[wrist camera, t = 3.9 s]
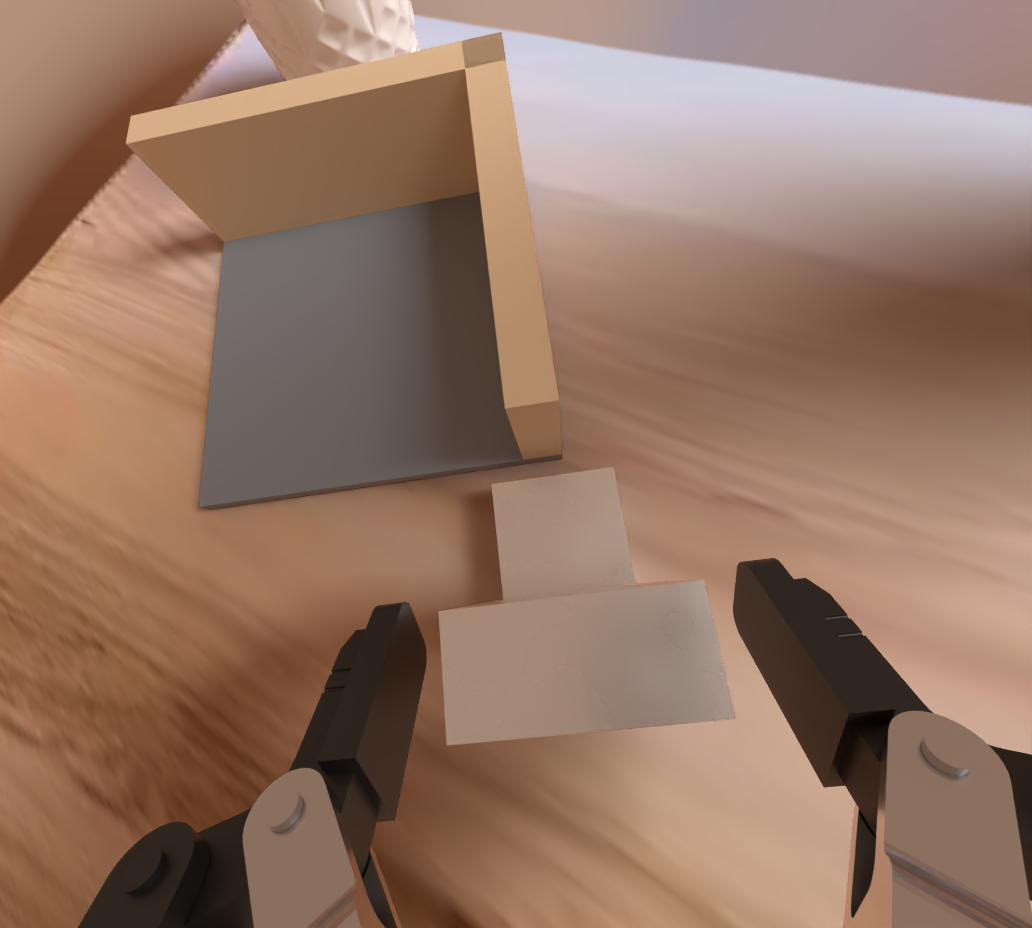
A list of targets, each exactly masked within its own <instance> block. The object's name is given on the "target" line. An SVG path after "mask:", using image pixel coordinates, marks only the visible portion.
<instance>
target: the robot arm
mask: <svg viewBox="0 0 1032 928" xmlns="http://www.w3.org/2000/svg"><path fill="white" fill-rule="evenodd" d="M733 614H734V619H735V623H736V626H737V629H738V632H739V634H740V636H741V638H742V640H743V641H744V643H745V645H746V647H747V649H748V650H749V652H750V654H751V656H752V658H753V659H754V661H755V663H756V665H757V667H758V669H759V670H760V672H761V674H762V676H763V678H764V679H765V681H766V683H767V685H768V687H769V689H770V690H771V692H772V694H773V696H774V698H775V699H776V701H777V703H778V705H779V707H780V709H781V710H782V712H783V714H784V716H785V718H786V719H787V721H788V723H789V725H790V727H791V729H792V730H793V732H794V734H795V736H796V738H797V739H798V741H799V743H800V745H801V747H802V749H803V750H804V752H805V754H806V756H807V758H808V759H809V761H810V763H811V765H812V767H813V768H814V770H815V772H816V774H817V776H818V778H819V779H820V781H821V783H822V785H823V787H834V786H846V787H847V789H848V791H849V793H850V794H851V796H852V798H853V799H854V801H855V803H856V805H855V808H854V815H853V826H852V838H851V849H850V861H849V872H848V883H847V895H846V906H845V916H844V924H843V928H1032V912H1031V906H1030V900H1031V901H1032V755H1031V754H1026V753H1021V752H1016V751H1011V750H1006V749H1002V748H998V747H994V746H991V745H988V744H986V743H985V742H984V741H983V740H982V739H981V738H980V737H978V736H977V735H976V734H974V733H973V732H971V731H970V730H968V729H967V728H965V727H964V726H962V725H960V724H958V723H956V722H955V721H952V720H950V719H948V718H946V717H943V716H940V715H937V714H934V713H933V712H932V711H930V710H929V709H928V708H927V706H926V705H925V704H924V703H923V702H922V701H921V700H920V699H919V698H918V696H917V695H916V694H915V693H914V692H913V691H912V689H911V688H910V687H909V686H908V685H907V684H906V682H905V681H904V680H903V679H902V678H901V677H900V675H899V674H898V673H897V672H896V671H895V670H894V668H893V667H892V666H891V665H890V664H889V663H888V661H887V660H886V659H885V658H884V657H883V656H882V654H881V653H880V652H879V651H878V650H877V649H876V647H875V646H874V645H873V644H872V643H871V642H870V640H869V639H868V638H867V637H866V636H863V635H862V631H861V630H860V629H859V628H858V626H857V625H856V624H855V623H854V622H853V621H852V619H851V618H850V619H849V618H848V617H847V614H846V612H845V611H844V610H843V609H842V608H841V607H840V605H839V604H838V603H837V602H836V601H835V600H834V598H833V597H832V596H831V595H830V594H829V593H827V592H826V591H824V590H823V589H821V588H820V587H818V586H817V585H815V584H814V583H812V582H811V581H809V580H808V579H806V578H802V579H793V578H792V576H791V575H790V574H789V573H788V571H787V570H786V569H785V568H784V566H783V565H782V564H781V563H780V562H779V561H778V560H777V559H775V558H769V559H761V560H753V561H745V562H740V563H739V564H738V566H737V574H736V583H735V593H734V603H733ZM425 669H426V647H425V642H424V640H423V637H422V634H421V632H420V629H419V627H418V624H417V622H416V619H415V617H414V614H413V612H412V609H411V607H410V605H409V604H408V603H407V602H403V603H395V604H387V605H379V606H376V607H375V608H374V610H373V612H372V615H371V617H370V620H369V623H368V625H367V628H366V629H363V630H356V631H355V632H354V634H353V635H352V636H351V637H350V638H349V640H348V641H347V642H346V643H345V645H344V646H343V647H342V648H341V649H340V652H339V654H338V657H337V659H336V661H335V664H334V666H333V669H332V675H330V676H329V678H328V681H327V683H326V686H325V692H324V693H322V695H321V698H320V700H319V702H318V705H317V707H316V710H315V712H314V714H313V717H312V719H311V722H310V724H309V726H308V729H307V731H306V734H305V736H304V739H303V741H302V743H301V746H300V748H299V751H298V753H297V755H296V758H295V760H294V762H293V764H292V766H291V768H290V770H289V772H288V773H286V774H284V775H282V776H281V777H279V778H278V779H277V780H275V781H274V782H273V783H272V784H271V785H269V786H268V787H267V788H266V789H265V791H264V792H263V793H262V794H261V795H260V796H259V798H258V799H257V801H256V802H255V804H254V805H253V807H252V808H251V809H249V810H247V811H245V812H243V813H241V814H239V815H237V816H234V817H232V818H230V819H228V820H226V821H223V822H221V823H219V824H217V825H214V826H212V827H210V828H208V829H206V830H203V831H201V832H199V833H197V832H196V831H195V830H194V829H192V828H191V827H190V826H189V825H187V824H186V823H182V822H173V823H169V824H166V825H163V826H161V827H159V828H157V829H155V830H153V831H152V832H150V833H149V834H147V835H146V836H144V837H143V838H142V839H141V840H140V841H138V842H137V843H136V844H135V845H134V846H133V847H132V848H131V849H130V850H129V851H128V852H127V853H126V854H125V855H124V856H123V857H122V858H121V859H120V861H119V862H118V863H117V865H116V866H115V867H114V869H113V870H112V871H111V873H110V875H109V876H108V878H107V879H106V881H105V883H104V884H103V886H102V888H101V889H100V891H99V893H98V895H97V896H96V898H95V900H94V901H93V903H92V905H91V906H90V908H89V910H88V912H87V913H86V915H85V917H84V918H83V920H82V922H81V923H80V925H79V927H78V928H402V927H401V924H400V921H399V918H398V916H397V913H396V910H395V907H394V905H393V902H392V899H391V896H390V894H389V891H388V888H387V886H386V883H385V880H384V877H383V875H382V872H381V869H380V866H379V864H378V861H377V858H376V855H375V853H374V850H373V848H372V845H371V843H372V839H373V834H374V830H375V826H376V822H380V821H392V820H395V816H396V811H397V806H398V801H399V796H400V792H401V787H402V782H403V777H404V772H405V767H406V762H407V757H408V752H409V747H410V743H411V738H412V733H413V728H414V723H415V718H416V713H417V708H418V703H419V699H420V694H421V689H422V684H423V679H424V674H425Z"/></svg>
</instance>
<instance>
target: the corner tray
mask: <svg viewBox="0 0 1032 928" xmlns="http://www.w3.org/2000/svg"><path fill="white" fill-rule="evenodd" d="M126 145H127V146H128V147H129V148H130V149H131V150H132V151H133V152H134V153H135V154H136V155H137V156H138V157H139V158H140V159H141V160H142V161H143V162H144V163H145V164H146V165H147V166H148V167H149V168H150V169H151V170H152V171H153V172H154V173H155V174H156V175H157V176H158V177H159V178H160V179H161V180H162V181H163V182H164V183H165V184H166V185H167V186H168V187H169V188H170V189H171V190H172V191H173V192H174V193H175V194H176V195H177V196H178V197H179V198H180V199H181V200H182V201H183V202H184V203H185V204H186V205H187V206H188V207H189V208H190V209H191V210H192V211H193V212H194V213H195V214H196V215H197V216H198V217H199V218H200V219H201V220H202V221H203V222H204V223H205V224H206V225H207V226H208V227H209V228H210V229H211V230H212V231H213V232H214V233H215V234H216V235H217V236H218V237H219V238H220V239H221V240H222V241H223V242H224V246H223V257H222V267H221V277H220V288H219V298H218V308H217V319H216V329H215V339H214V350H213V360H212V370H211V381H210V391H209V401H208V412H207V422H206V432H205V443H204V453H203V463H202V474H201V484H200V494H199V505H198V507H200V508H205V509H217V508H224V507H231V506H238V505H245V504H252V503H259V502H266V501H272V500H279V499H286V498H293V497H300V496H307V495H314V494H321V493H328V492H335V491H342V490H349V489H355V488H362V487H369V486H376V485H383V484H390V483H397V482H404V481H411V480H418V479H425V478H432V477H438V476H445V475H452V474H459V473H466V472H473V471H480V470H487V469H494V468H501V467H508V466H515V465H521V464H528V463H535V462H542V461H549V460H556V459H562V444H561V424H560V405H559V395H558V389H557V383H556V376H555V370H554V364H553V357H552V351H551V345H550V338H549V332H548V326H547V319H546V313H545V306H544V300H543V294H542V287H541V281H540V275H539V268H538V262H537V256H536V249H535V243H534V237H533V230H532V224H531V218H530V211H529V205H528V198H527V192H526V186H525V179H524V173H523V167H522V160H521V154H520V148H519V141H518V135H517V129H516V122H515V116H514V110H513V103H512V97H511V90H510V84H509V78H508V71H507V65H506V59H505V52H504V46H503V40H502V33H501V32H499V33H495V34H490V35H486V36H482V37H477V38H473V39H468V40H464V41H460V42H455V43H451V44H446V45H442V46H437V47H433V48H429V49H424V50H420V51H415V52H411V53H407V54H402V55H398V56H393V57H389V58H385V59H380V60H376V61H371V62H367V63H363V64H358V65H354V66H349V67H345V68H341V69H336V70H332V71H327V72H323V73H319V74H314V75H310V76H305V77H301V78H296V79H292V80H288V81H283V82H279V83H274V84H270V85H266V86H261V87H257V88H252V89H248V90H244V91H239V92H235V93H230V94H226V95H222V96H217V97H213V98H208V99H204V100H200V101H195V102H191V103H186V104H182V105H178V106H173V107H169V108H164V109H160V110H156V111H151V112H147V113H142V114H138V115H134V116H131V119H130V124H129V130H128V135H127V140H126Z"/></svg>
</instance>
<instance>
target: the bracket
mask: <svg viewBox="0 0 1032 928" xmlns="http://www.w3.org/2000/svg"><path fill="white" fill-rule="evenodd" d="M491 485H492V495H493V505H494V514H495V524H496V534H497V544H498V554H499V563H500V573H501V583H502V593H503V599H501V600H496V601H491V602H486V603H480V604H475V605H470V606H464V607H459V608H454V609H448V610H443V611H438V612H439V629H440V645H441V662H442V678H443V695H444V711H445V728H446V744H447V746H448V745H459V744H470V743H481V742H491V741H502V740H513V739H524V738H534V737H545V736H556V735H567V734H578V733H588V732H599V731H610V730H621V729H632V728H642V727H653V726H664V725H675V724H685V723H696V722H707V721H718V720H729V719H736V717H735V712H734V708H733V704H732V700H731V695H730V691H729V687H728V682H727V678H726V674H725V669H724V665H723V661H722V656H721V652H720V648H719V643H718V639H717V635H716V631H715V626H714V622H713V618H712V613H711V609H710V605H709V600H708V596H707V592H706V587H705V583H704V580H691V581H672V582H652V583H635V578H634V573H633V567H632V562H631V557H630V551H629V546H628V541H627V535H626V530H625V525H624V519H623V514H622V509H621V503H620V498H619V493H618V488H617V482H616V477H615V472H614V467H608V468H601V469H594V470H587V471H580V472H573V473H566V474H559V475H552V476H545V477H538V478H531V479H524V480H517V481H510V482H503V483H496V484H491Z"/></svg>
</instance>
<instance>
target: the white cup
mask: <svg viewBox="0 0 1032 928" xmlns="http://www.w3.org/2000/svg"><path fill="white" fill-rule="evenodd" d="M234 1H235V2H236V4H237V5H238V7H239V8H240V10H241V12H242V14H243V15H244V17H245V19H246V20H247V22H248V24H249V25H250V27H251V28H252V30H253V32H254V33H255V35H256V37H257V39H258V40H259V42H260V43H261V44H262V46H263V47H264V49H265V50H266V52H267V53H268V55H269V56H270V58H271V59H272V60H273V62H274V64H275V66H276V68H277V69H278V71H279V73H280V74H281V76H282V77H283V78H284V79H285V80H286V81H288V80H292V79H296V78H301V77H305V76H310V75H314V74H319V73H323V72H327V71H332V70H336V69H341V68H345V67H349V66H354V65H358V64H363V63H367V62H371V61H376V60H380V59H385V58H389V57H393V56H398V55H402V54H407V53H411V52H415V51H420V47H419V43H418V39H417V35H416V32H415V29H416V28H415V20H414V14H413V10H412V5H411V1H410V0H234Z"/></svg>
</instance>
